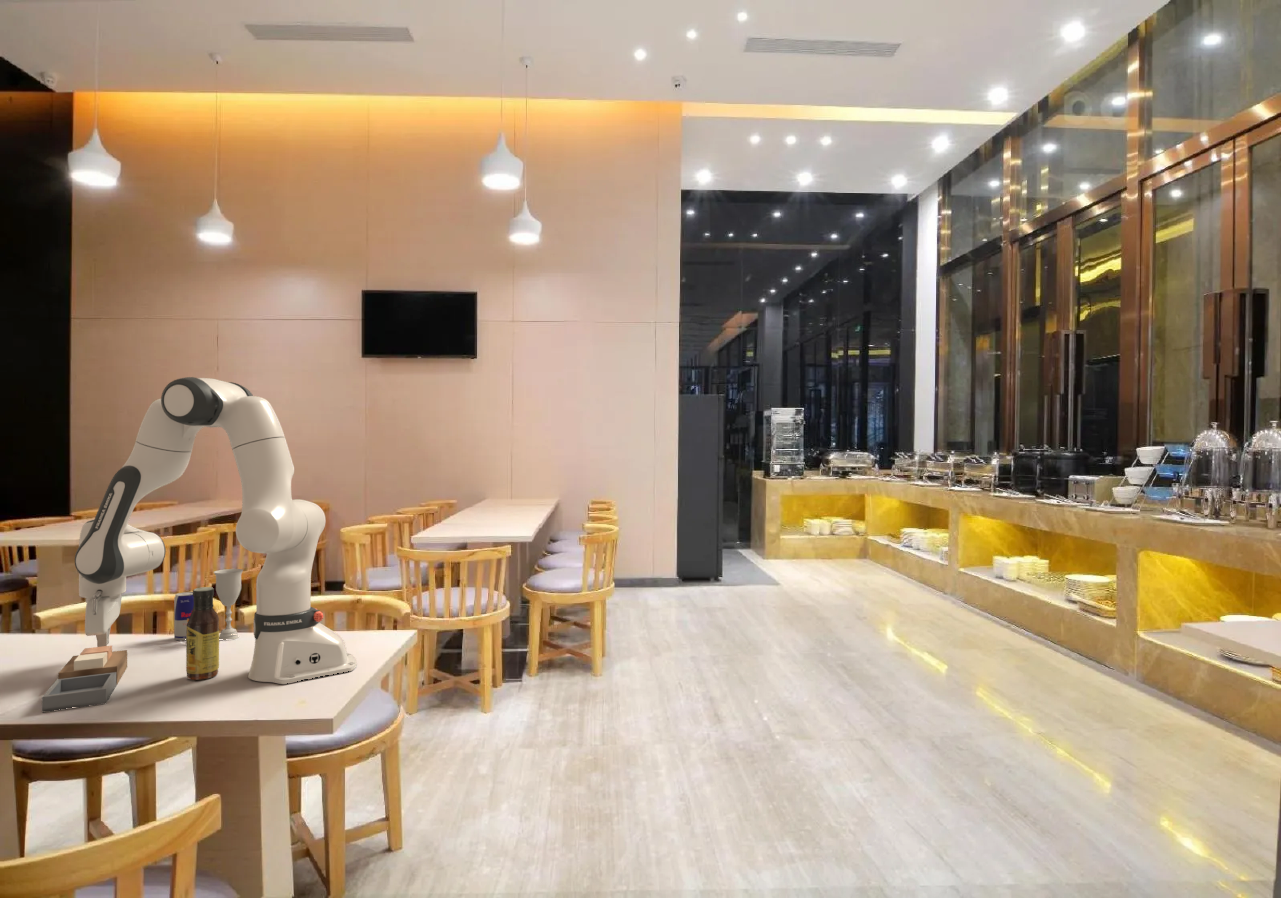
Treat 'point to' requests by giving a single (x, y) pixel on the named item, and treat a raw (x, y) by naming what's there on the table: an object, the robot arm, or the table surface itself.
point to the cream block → (90, 661)
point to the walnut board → (112, 665)
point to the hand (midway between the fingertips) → (103, 646)
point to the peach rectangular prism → (98, 651)
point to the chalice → (228, 596)
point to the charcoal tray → (79, 691)
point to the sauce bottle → (202, 637)
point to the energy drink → (182, 614)
